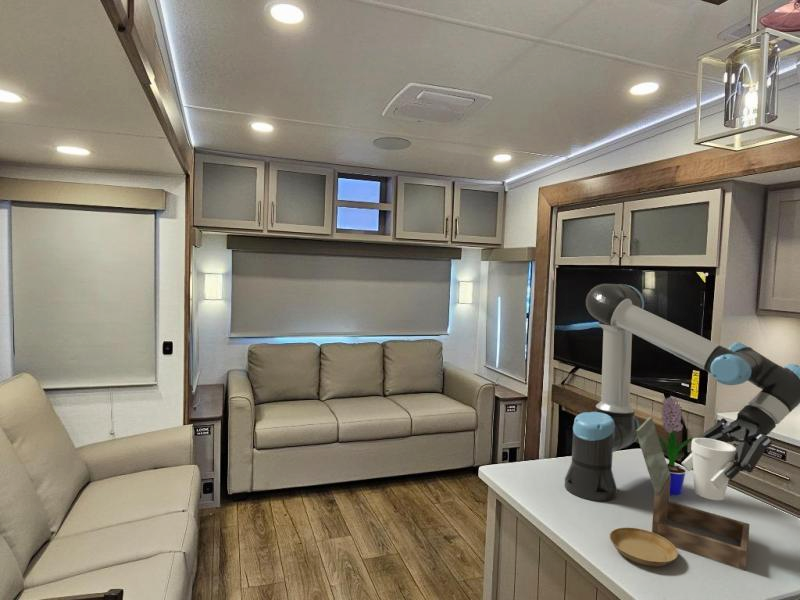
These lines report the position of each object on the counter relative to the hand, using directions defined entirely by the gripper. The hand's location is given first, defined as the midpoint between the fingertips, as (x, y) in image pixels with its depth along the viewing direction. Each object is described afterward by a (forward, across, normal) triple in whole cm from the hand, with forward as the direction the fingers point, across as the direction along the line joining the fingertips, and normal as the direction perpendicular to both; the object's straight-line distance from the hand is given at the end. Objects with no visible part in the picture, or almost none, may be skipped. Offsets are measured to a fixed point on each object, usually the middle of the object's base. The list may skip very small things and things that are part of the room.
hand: (699, 475), depth 120 cm
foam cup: (+1, 0, -6) cm, 6 cm away
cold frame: (+12, +2, -12) cm, 17 cm away
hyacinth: (+2, +28, -23) cm, 36 cm away
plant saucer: (+24, -4, 0) cm, 25 cm away
